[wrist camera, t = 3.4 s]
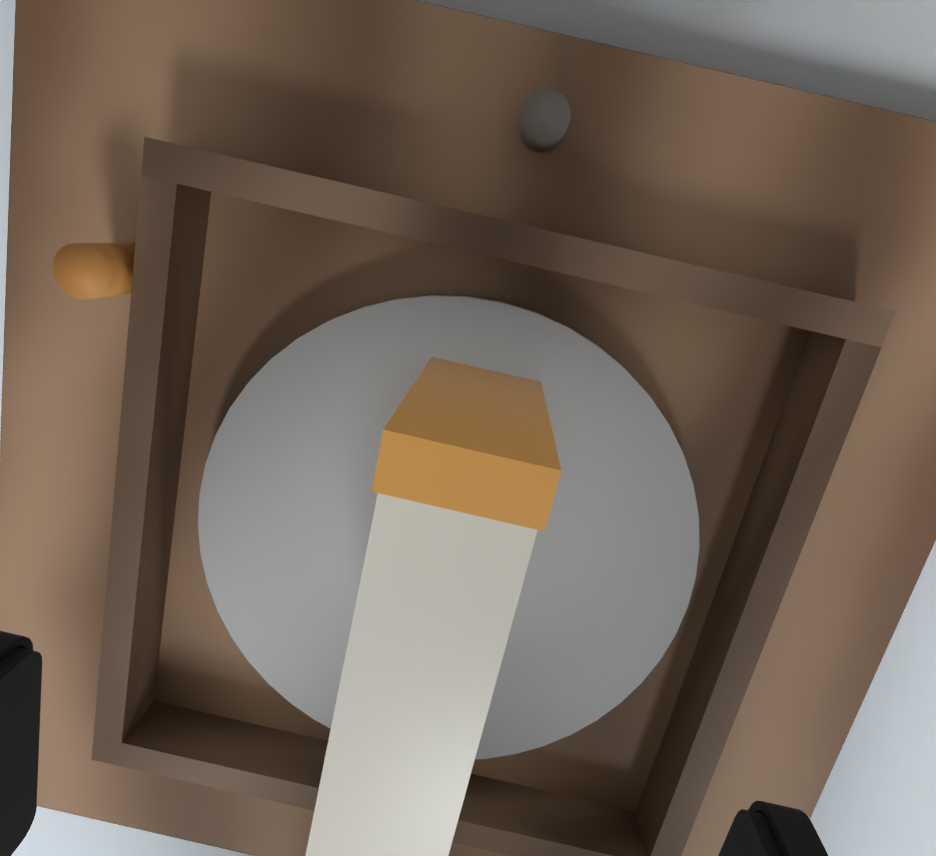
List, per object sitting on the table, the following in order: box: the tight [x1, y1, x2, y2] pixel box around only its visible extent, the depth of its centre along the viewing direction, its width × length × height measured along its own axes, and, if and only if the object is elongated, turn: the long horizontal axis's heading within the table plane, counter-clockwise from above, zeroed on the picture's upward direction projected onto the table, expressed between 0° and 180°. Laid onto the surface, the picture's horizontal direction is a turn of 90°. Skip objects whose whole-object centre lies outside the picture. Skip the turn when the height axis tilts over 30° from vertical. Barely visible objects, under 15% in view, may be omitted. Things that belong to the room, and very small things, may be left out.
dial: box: [198, 294, 700, 856], centre depth 15 cm, size 13×13×7 cm
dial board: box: [0, 0, 936, 856], centre depth 18 cm, size 25×25×4 cm
